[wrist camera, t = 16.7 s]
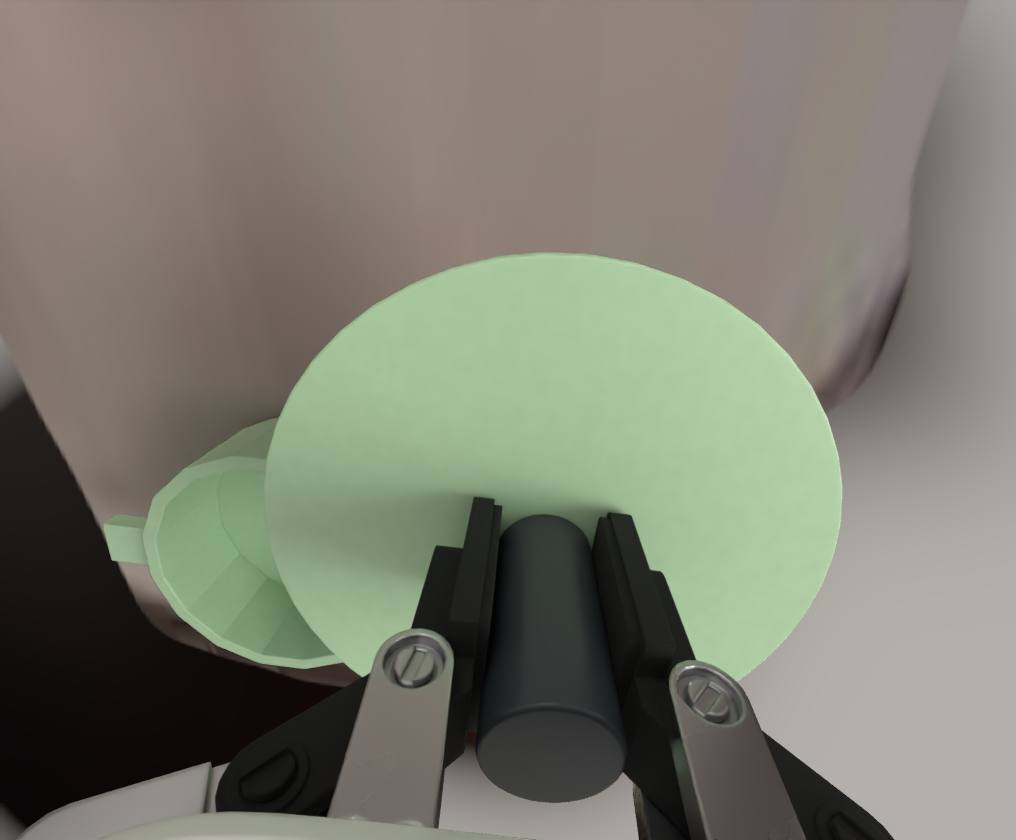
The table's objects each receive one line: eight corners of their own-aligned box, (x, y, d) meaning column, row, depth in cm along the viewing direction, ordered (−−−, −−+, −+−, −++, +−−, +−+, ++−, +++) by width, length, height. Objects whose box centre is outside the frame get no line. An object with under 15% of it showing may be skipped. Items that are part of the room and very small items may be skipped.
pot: (152, 395, 27) (63, 434, 22) (475, 435, 27) (461, 483, 22) (187, 579, 32) (121, 645, 27) (459, 614, 32) (444, 687, 27)
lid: (259, 214, 10) (-85, 203, 5) (913, 290, 10) (1399, 374, 4) (303, 675, 16) (174, 930, 10) (724, 724, 16) (834, 1007, 10)
